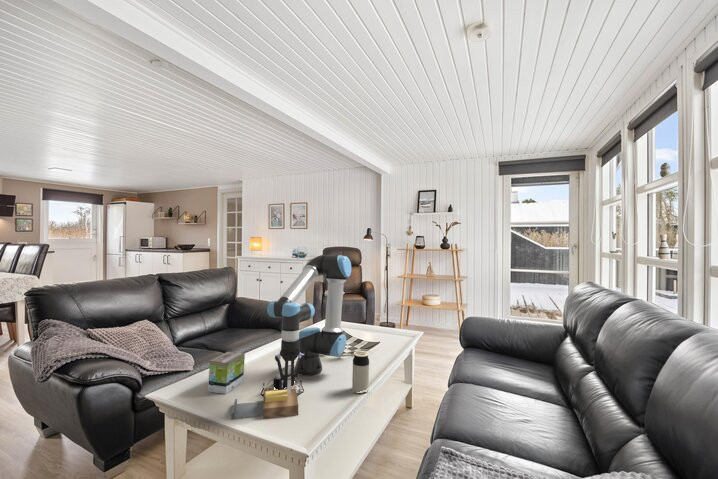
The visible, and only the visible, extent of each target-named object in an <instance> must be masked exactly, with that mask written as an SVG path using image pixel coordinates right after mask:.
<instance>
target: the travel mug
mask: <svg viewBox="0 0 718 479" xmlns="http://www.w3.org/2000/svg"><path fill="white" fill-rule="evenodd" d="M369 355H370V353H369V352H368V351H365V350H357V351H354V352H353V356H354V357H353V358H352V378H351V380H352V383H351V384H352V385H351V387H352V388H351V390H353V391H355V392H360V391H363V390H366V389H367V388H368V387H369V386H370V385H369V383H370V382H369V381H370V359H369ZM369 388H370V387H369ZM353 391H352V392H353ZM355 392H354V393H355Z"/></svg>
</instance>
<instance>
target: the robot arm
mask: <svg viewBox="0 0 718 479" xmlns="http://www.w3.org/2000/svg"><path fill="white" fill-rule="evenodd" d="M351 274H352V262H351V260H350V258H349V257H348V256H345V255H342V254H340V255H336V254H331V255H330V254H321V255H318V256H316V257H314V258H312V259H310V260H309V261H308V262H307V263H306V264H305V265H304V266H303V267H302V271H301V272H300V274H299V275H298V276H297V278H296V279H295V280H294V281H293V282H292V283H291V284H290V285H289V286H288V288H287V289H286V290H285V292H283V294H282V295H281V296H280V298H279V299H278V300H277V301H276V300H273V301H270V302H269V303H268V305H267V309H266V311H267V315H268V316H269V317H272V318H275V319H281V335H280V336H281V340H280V341H281V342H280V351H279V353H278V354H275V355H274V360H275V361H276V363H277V368H278V373H280V377H281V379H284V380H285V383H284V385H285V387H287V395H291V389H292V387H291V386H293V385H294V378H295V379H297V378H298V377H299V375H300V376H308V377H309V376H314V375H315V374H316V375H318V374H317V373H319V372H320V373H322V371H323V364H322V360H321V357H320V355H325V356H330V357H340V356H341V355H342V354H343V352H344V351H345V349H346V345H347V336H346V335H345V334H343V333H344V331H343V328H341V327H342V326H341V325H342V310H343V299H344V298H343V297H344V285H345V284H344V283H346V282H347V280H348V278H349V277H350V276H351ZM320 276H325V279H326V281H327V282H328V285H327V292H326V293H327V294H326V295H327V296H326V307H325V317H324V318H325V320H324V326H323V328H320V327H318V326H317V327H312V326H311V327H307V328H303V329H301V330H300V324H301V323H302V322H305V321H308V320H310V319H312V318H313V317H314V316H315V313H316V309H315V307H314V305H313V304H312V303H311V302H310V303H308V302H307V303H306V302H305V303H298V302H297V301H298V300H299V299H300V298H301V297H302V296H303V294H304V293H305V291H306V290H307V289H308V288H309V286H310V285H311V284H312V282H314V280H317V279H318V278H319V277H320ZM281 358H282V359H283V361H284V367H285V375H283V371H282V368H283V367H282V364H281V363H282V362H281ZM295 360H296V362H295ZM289 362H290V365H291V377H290V378H288V365H289ZM320 373H319V374H320ZM294 386H295V385H294ZM294 386H293V387H294Z"/></svg>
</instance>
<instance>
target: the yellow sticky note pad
mask: <svg viewBox="0 0 718 479" xmlns="http://www.w3.org/2000/svg"><path fill="white" fill-rule="evenodd" d="M265 391H266V394H265V403H266V402H277V401H287V390H277V391H272V390H265Z"/></svg>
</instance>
